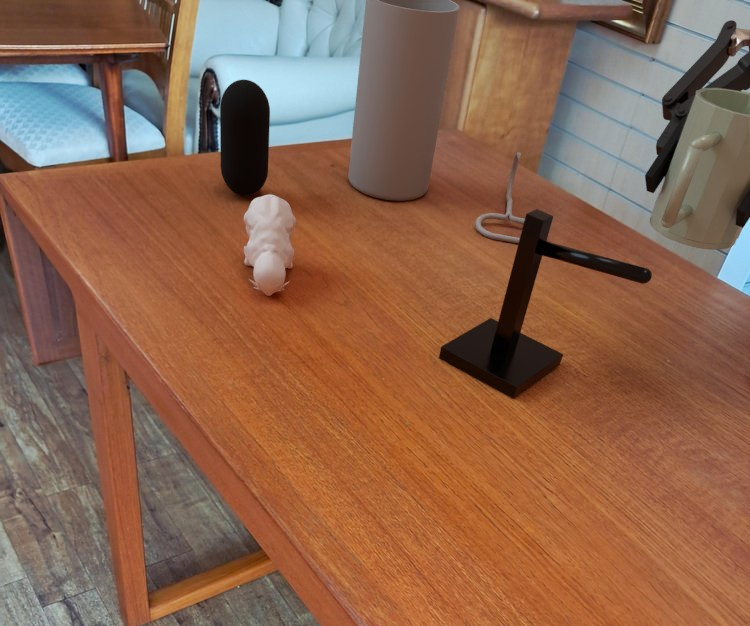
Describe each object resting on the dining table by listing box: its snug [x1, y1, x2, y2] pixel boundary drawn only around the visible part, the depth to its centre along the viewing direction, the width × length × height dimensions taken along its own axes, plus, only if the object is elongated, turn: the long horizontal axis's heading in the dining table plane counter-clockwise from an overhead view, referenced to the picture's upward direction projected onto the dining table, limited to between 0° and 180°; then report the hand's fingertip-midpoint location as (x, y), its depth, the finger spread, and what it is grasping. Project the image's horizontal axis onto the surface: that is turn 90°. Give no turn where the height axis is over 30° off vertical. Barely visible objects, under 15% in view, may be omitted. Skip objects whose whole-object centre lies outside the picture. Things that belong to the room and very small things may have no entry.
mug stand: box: [438, 208, 653, 399], centre depth 81 cm, size 18×10×17 cm, turn 50°
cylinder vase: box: [347, 0, 460, 202], centre depth 114 cm, size 12×12×25 cm
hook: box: [474, 151, 525, 245], centre depth 118 cm, size 7×9×20 cm
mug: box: [649, 87, 750, 251], centre depth 74 cm, size 13×9×12 cm, turn 139°
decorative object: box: [219, 79, 271, 197], centre depth 108 cm, size 7×7×15 cm
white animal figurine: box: [243, 193, 297, 297], centre depth 93 cm, size 6×8×12 cm
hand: (693, 201), depth 75 cm, fingers closed on mug, 9 cm apart
